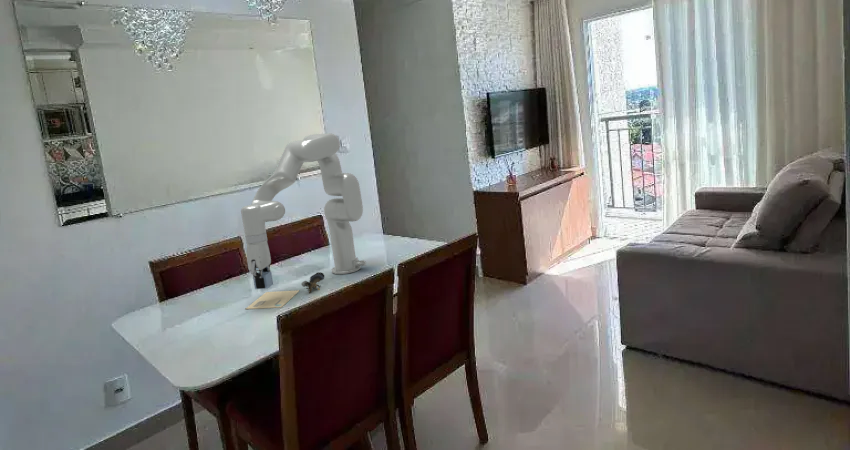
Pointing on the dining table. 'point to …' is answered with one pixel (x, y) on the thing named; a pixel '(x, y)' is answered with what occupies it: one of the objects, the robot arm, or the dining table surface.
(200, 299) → the dining table surface
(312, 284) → the squirrel figurine
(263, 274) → the blue block
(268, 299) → the letter
